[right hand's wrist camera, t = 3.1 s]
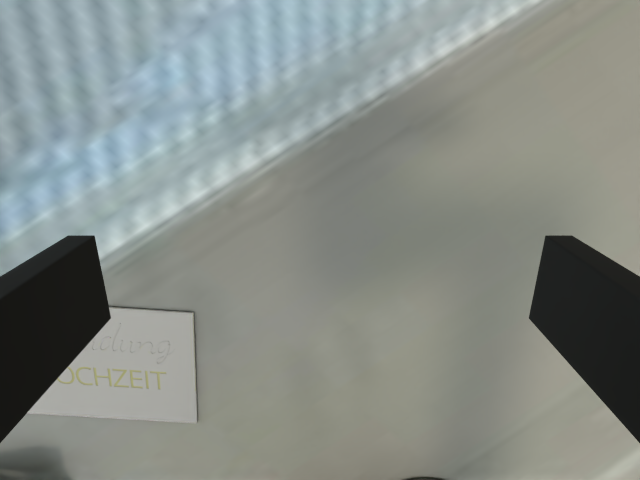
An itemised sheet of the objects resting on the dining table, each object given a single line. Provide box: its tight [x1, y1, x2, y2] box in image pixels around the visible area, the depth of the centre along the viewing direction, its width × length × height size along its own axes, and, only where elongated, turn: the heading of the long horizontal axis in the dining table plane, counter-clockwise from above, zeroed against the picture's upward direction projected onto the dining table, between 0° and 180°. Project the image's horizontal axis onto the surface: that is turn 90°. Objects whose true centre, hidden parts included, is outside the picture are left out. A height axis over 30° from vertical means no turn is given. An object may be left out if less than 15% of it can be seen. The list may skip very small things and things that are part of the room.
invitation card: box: [27, 307, 197, 423], centre depth 47 cm, size 21×1×15 cm
